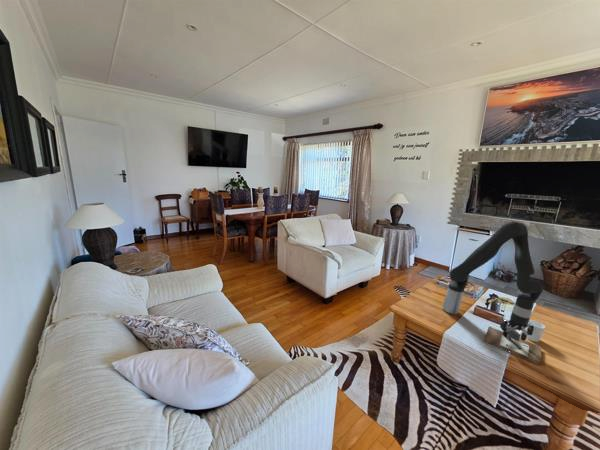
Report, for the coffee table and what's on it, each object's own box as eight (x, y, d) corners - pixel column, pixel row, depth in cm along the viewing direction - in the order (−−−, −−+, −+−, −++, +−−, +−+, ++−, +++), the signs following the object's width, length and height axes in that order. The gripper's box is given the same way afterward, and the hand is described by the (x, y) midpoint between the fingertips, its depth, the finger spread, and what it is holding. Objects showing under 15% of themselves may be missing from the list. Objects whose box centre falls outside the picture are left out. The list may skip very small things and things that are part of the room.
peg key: (499, 332, 148) (502, 322, 146) (503, 333, 148) (506, 323, 146) (518, 349, 134) (522, 339, 133) (522, 350, 134) (526, 339, 133)
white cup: (534, 343, 143) (539, 329, 140) (519, 334, 150) (524, 320, 148) (543, 341, 145) (548, 327, 143) (528, 332, 152) (533, 318, 150)
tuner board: (483, 341, 143) (484, 338, 143) (488, 328, 154) (489, 325, 154) (539, 365, 127) (540, 362, 126) (540, 350, 138) (541, 346, 138)
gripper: (532, 311, 136) (524, 336, 140) (502, 307, 140) (495, 331, 144) (541, 320, 129) (532, 345, 133) (510, 314, 133) (502, 339, 137)
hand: (513, 338), depth 139 cm, fingers open, 8 cm apart
